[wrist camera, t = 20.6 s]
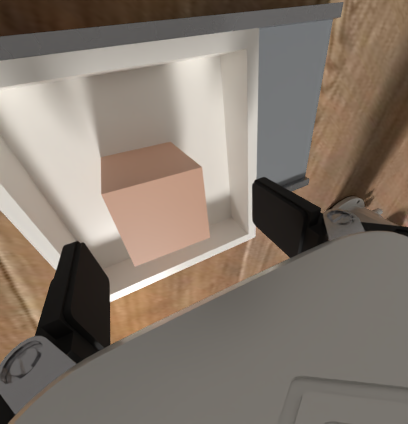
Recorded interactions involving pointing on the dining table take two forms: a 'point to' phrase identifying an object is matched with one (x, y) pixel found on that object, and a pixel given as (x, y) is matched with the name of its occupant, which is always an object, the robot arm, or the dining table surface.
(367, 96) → the dining table surface
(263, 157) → the track
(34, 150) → the cart
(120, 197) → the block
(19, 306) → the dining table surface
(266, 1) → the dining table surface
